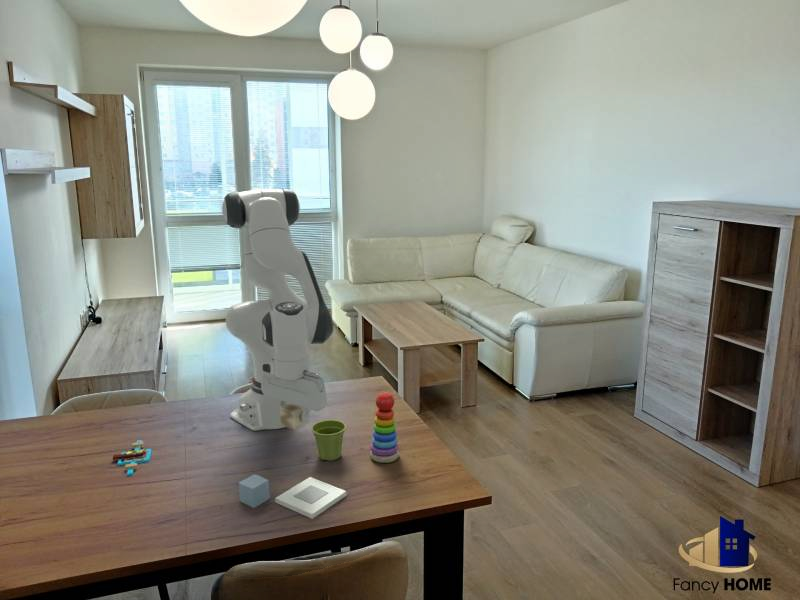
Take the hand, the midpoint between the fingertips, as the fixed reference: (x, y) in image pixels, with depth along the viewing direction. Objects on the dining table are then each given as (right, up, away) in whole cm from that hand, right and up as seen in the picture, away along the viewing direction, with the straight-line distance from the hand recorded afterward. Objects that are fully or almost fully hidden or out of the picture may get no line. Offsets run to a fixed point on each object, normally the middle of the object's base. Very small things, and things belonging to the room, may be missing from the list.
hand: (294, 418), depth 155 cm
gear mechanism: (-47, -14, +12) cm, 50 cm away
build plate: (+5, -18, -9) cm, 21 cm away
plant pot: (+8, -13, +13) cm, 20 cm away
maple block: (0, -2, 0) cm, 2 cm away
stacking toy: (+23, -13, +12) cm, 29 cm away
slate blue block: (-8, -18, -9) cm, 22 cm away
